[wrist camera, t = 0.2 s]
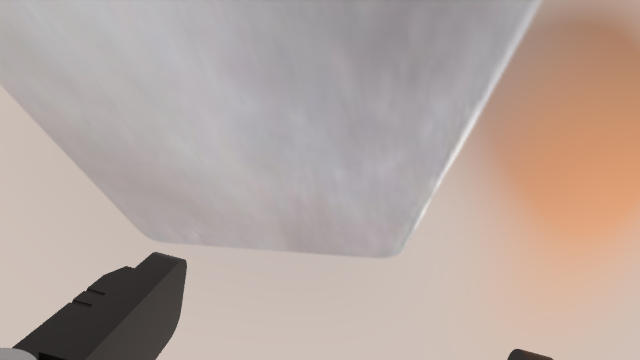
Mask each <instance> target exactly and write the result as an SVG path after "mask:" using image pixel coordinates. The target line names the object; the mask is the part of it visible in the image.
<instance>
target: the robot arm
mask: <svg viewBox="0 0 640 360" xmlns="http://www.w3.org/2000/svg"><path fill="white" fill-rule="evenodd" d="M186 269H187V263H186V260H184V259H181V258H177V257H173V256H169V255H165V254H162V253H158V252H154V253H152V254H151V255H150V256H149V257H147V258H146V259H145V260H144V261H143V262H141V263H140V264H139V265H138V266H137V267H136V268H131V267H127V266H125V267H123V268H120V269H118V270H115V271H113V272H110V273H108V274H105V275H103V276H102V277H101V278H100V279H98V280H97V281H96V282H95V283H93V284H92V285H91V286H89V287H88V288H87V291H83V292H82V293H81V294H79V295H78V296H77V297H76V298H74V299H73V301H72V303H68V304H67V305H66V306H64V307H63V308H62V309H61V310H59V311H58V312H57V313H55V314H54V315H53V316H52V317H50V318H49V319H48V320H47V321H45V322H44V323H43V324H42V325H40V326H39V327H38V328H37V329H35V330H34V331H33V332H31V333H30V334H29V335H28V336H26V337H25V338H24V339H23V340H21V341H20V342H19V343H18V344H16V345H15V346H14V347H13V348H0V360H155V359H156V358H157V357H158V355H159V354H160V353H161V351H162V350H163V348H164V347H165V346H166V344H167V343H168V341H169V340H170V339H171V337H172V335H173V333H174V331H175V329H176V327H177V324H178V321H179V318H180V313H181V307H182V299H183V292H184V284H185V277H186ZM508 360H553V359H552V358H550V357H546V356H543V355H539V354H535V353H532V352H528V351H524V350H520V349H515V350H513V351H512V352H511V353H510V355H509V357H508Z"/></svg>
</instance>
